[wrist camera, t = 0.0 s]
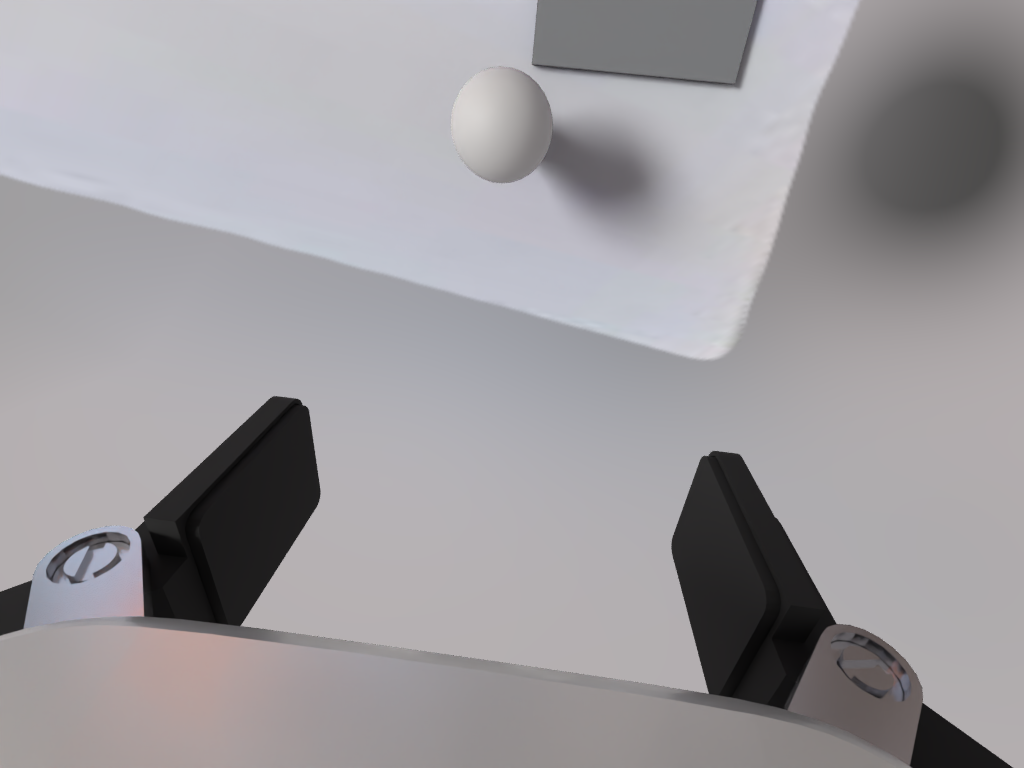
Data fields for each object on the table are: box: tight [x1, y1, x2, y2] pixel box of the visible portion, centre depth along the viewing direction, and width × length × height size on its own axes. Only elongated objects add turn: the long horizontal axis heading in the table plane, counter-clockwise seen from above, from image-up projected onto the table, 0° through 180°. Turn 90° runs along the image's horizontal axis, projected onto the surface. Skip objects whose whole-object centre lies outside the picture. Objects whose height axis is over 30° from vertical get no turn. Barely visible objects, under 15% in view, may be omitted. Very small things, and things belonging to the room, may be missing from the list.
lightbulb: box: [451, 66, 553, 183], centre depth 30 cm, size 6×6×11 cm
